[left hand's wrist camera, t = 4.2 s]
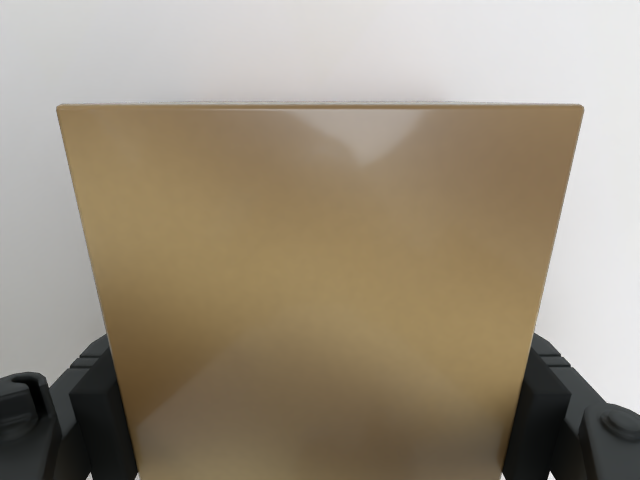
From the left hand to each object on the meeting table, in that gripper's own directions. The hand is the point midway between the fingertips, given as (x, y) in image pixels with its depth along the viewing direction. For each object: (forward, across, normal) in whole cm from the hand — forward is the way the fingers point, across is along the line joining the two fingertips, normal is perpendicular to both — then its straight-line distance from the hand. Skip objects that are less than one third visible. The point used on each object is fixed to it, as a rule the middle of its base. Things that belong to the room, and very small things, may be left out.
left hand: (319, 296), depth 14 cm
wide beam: (0, 0, -25) cm, 25 cm away
